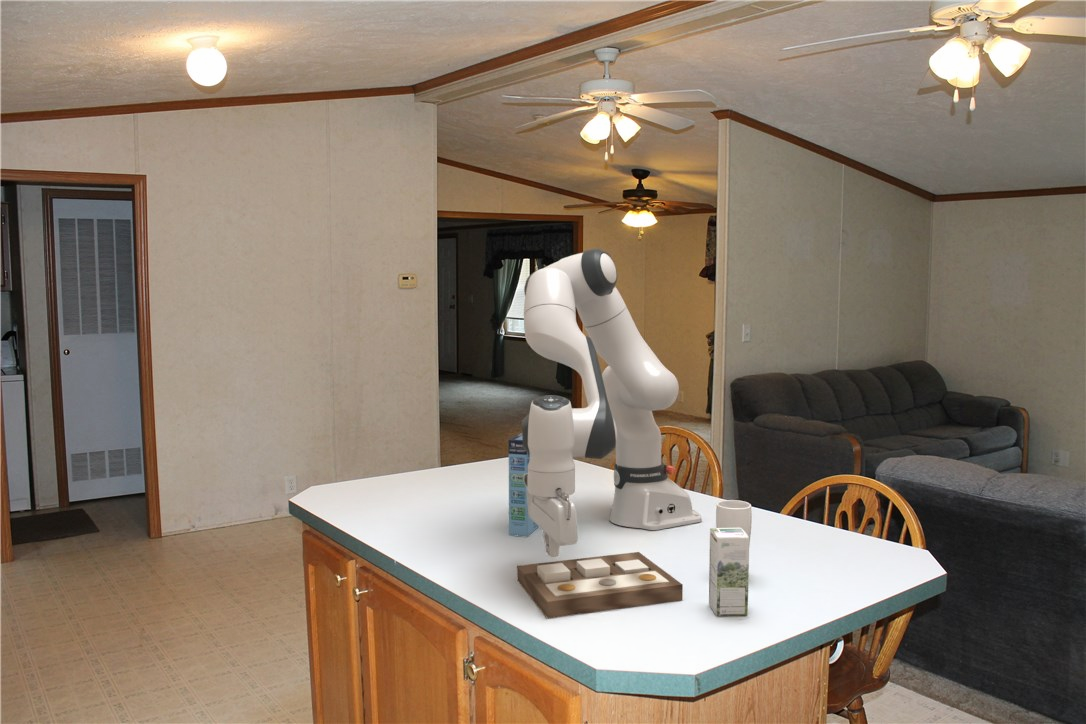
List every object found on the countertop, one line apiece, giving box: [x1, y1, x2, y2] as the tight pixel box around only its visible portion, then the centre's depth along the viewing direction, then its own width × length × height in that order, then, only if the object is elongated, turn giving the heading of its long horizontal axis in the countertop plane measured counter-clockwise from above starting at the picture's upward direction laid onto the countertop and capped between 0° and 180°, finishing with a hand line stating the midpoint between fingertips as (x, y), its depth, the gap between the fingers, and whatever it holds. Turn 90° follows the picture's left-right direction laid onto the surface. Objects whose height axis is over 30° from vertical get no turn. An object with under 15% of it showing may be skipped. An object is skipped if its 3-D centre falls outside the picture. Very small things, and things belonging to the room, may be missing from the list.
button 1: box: [537, 563, 570, 583], centre depth 160 cm, size 5×5×3 cm
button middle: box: [577, 558, 610, 578], centre depth 163 cm, size 5×5×3 cm
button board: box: [516, 551, 684, 619], centre depth 161 cm, size 26×20×4 cm
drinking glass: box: [715, 499, 753, 546], centre depth 166 cm, size 7×7×15 cm
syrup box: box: [708, 527, 750, 617], centre depth 150 cm, size 6×6×14 cm
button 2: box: [615, 560, 649, 573], centre depth 165 cm, size 5×5×3 cm
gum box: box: [508, 432, 540, 537], centre depth 204 cm, size 20×5×23 cm, turn 162°
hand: (552, 554), depth 160 cm, fingers closed
